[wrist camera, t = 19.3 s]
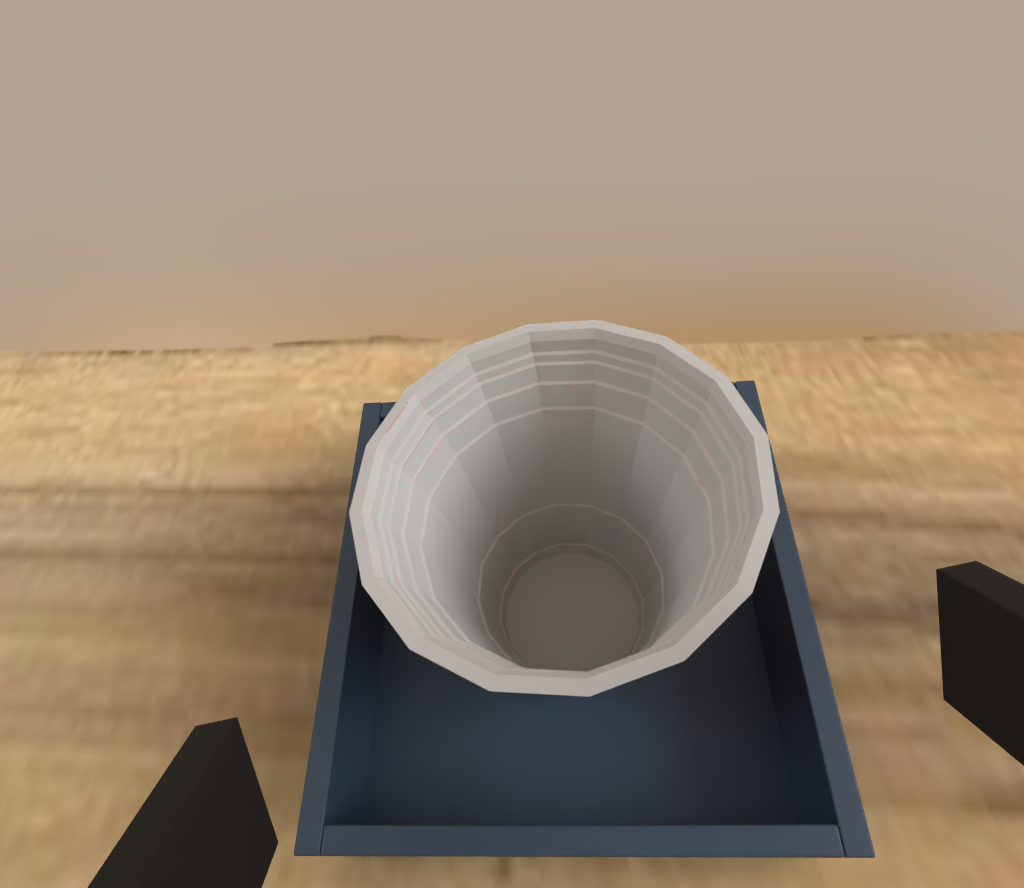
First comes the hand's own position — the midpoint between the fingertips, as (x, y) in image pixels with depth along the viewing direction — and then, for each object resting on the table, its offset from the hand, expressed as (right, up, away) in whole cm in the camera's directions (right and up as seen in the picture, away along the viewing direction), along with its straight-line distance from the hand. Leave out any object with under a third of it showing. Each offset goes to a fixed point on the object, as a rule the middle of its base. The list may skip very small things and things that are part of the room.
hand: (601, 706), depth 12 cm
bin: (+1, -2, +15) cm, 15 cm away
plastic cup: (+1, -2, +14) cm, 15 cm away
